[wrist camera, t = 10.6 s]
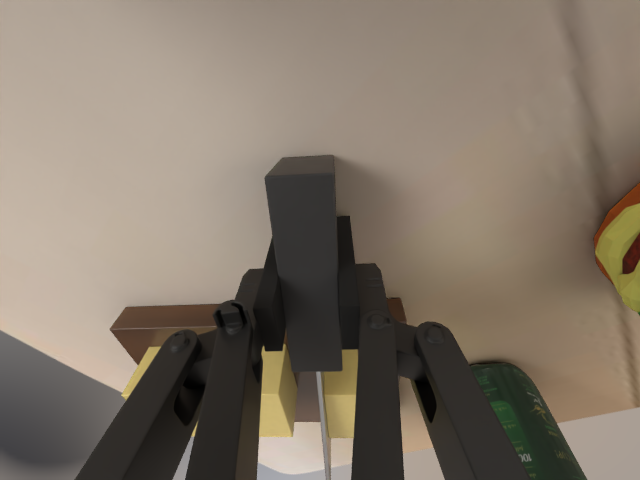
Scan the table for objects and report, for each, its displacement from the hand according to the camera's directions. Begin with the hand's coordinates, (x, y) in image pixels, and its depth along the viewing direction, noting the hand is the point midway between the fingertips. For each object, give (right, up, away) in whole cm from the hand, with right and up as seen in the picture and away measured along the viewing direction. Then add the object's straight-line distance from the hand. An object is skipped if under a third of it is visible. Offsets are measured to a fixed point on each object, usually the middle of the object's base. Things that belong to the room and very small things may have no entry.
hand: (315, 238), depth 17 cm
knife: (0, -6, +2) cm, 6 cm away
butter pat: (+2, -10, +5) cm, 11 cm away
